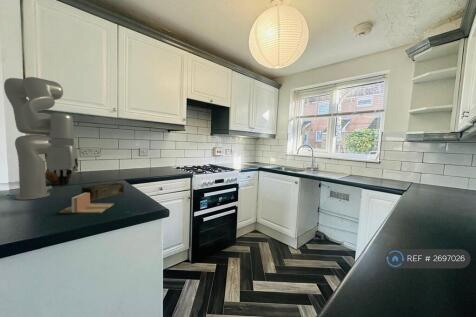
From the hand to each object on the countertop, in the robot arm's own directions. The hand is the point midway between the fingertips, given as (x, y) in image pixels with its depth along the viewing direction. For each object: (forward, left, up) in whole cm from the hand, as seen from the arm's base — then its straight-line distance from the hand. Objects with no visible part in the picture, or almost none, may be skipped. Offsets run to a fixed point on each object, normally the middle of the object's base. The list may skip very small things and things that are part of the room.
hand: (64, 185), depth 88 cm
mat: (0, +9, -11) cm, 14 cm away
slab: (+2, +8, -10) cm, 13 cm away
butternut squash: (-50, -37, -11) cm, 63 cm away
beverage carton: (-22, +5, -11) cm, 25 cm away
